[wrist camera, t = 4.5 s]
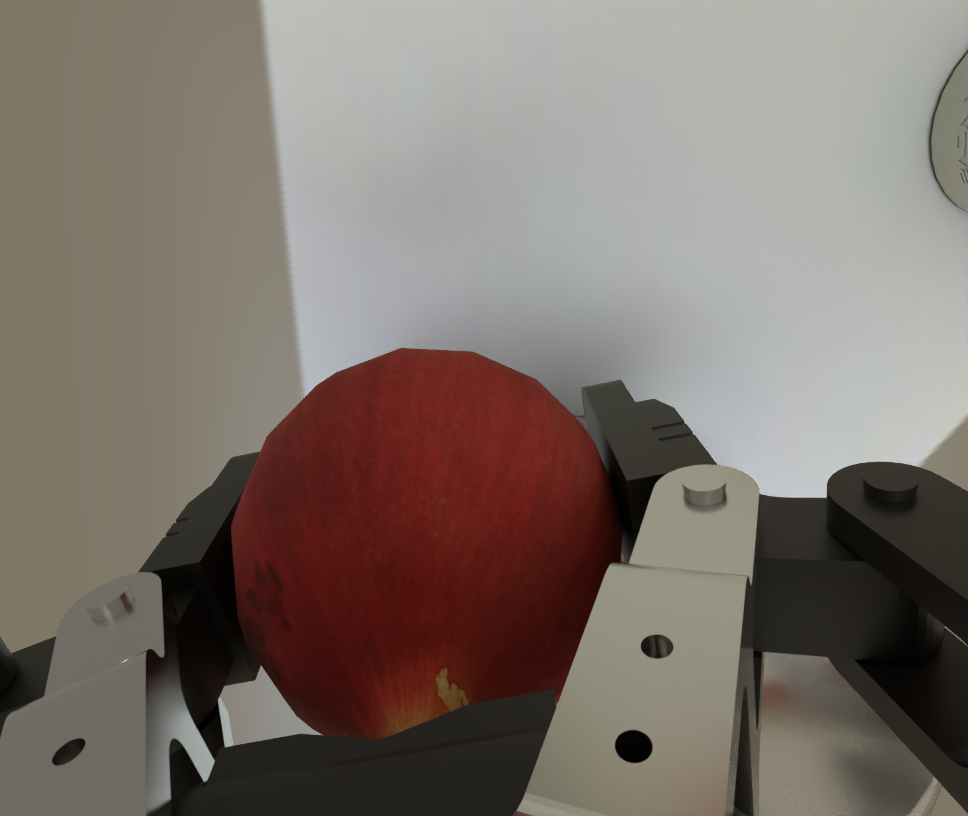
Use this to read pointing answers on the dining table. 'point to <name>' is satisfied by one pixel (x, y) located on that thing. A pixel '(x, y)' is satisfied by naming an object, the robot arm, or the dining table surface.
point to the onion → (421, 542)
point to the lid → (831, 748)
